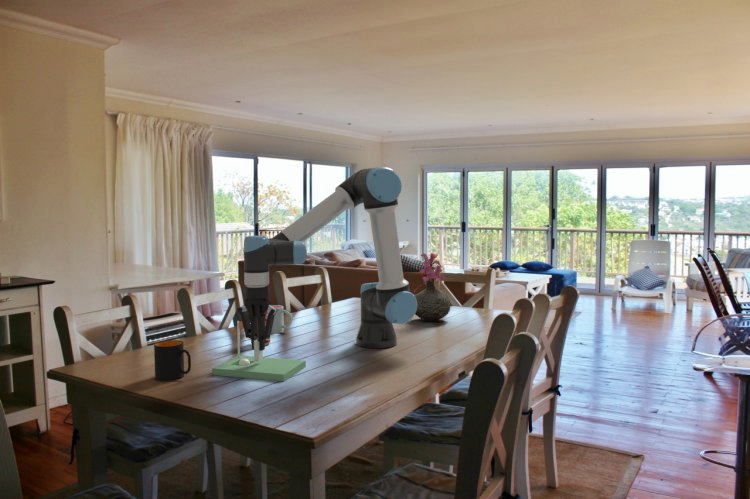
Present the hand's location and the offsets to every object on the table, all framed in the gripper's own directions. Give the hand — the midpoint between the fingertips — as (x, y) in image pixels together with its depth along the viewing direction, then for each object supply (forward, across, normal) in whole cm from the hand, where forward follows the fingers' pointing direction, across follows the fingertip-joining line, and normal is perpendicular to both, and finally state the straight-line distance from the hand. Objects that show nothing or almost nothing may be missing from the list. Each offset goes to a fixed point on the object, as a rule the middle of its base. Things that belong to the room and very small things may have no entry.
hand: (258, 360), depth 182 cm
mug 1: (+3, +20, +14) cm, 25 cm away
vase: (+4, -36, -92) cm, 99 cm away
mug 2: (+4, +20, -53) cm, 56 cm away
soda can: (+3, +16, -31) cm, 35 cm away
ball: (+3, +3, +1) cm, 4 cm away
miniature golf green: (+3, -1, 0) cm, 3 cm away
